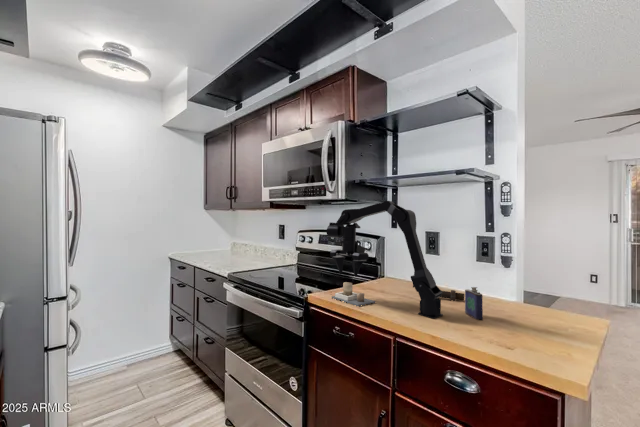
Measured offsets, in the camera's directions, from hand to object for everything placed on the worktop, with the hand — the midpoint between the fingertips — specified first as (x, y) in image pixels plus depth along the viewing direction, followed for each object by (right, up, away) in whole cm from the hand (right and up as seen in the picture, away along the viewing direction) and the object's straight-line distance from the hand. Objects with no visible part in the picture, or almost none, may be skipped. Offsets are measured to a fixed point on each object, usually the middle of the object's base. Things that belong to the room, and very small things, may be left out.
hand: (348, 274), depth 134 cm
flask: (+44, -11, -22) cm, 50 cm away
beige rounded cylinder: (0, -10, 0) cm, 10 cm away
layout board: (+2, -11, -3) cm, 11 cm away
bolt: (+43, -12, +3) cm, 45 cm away
